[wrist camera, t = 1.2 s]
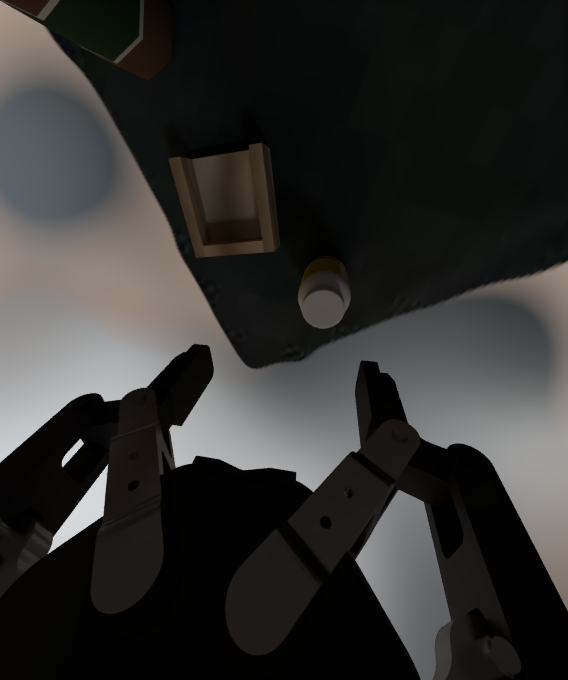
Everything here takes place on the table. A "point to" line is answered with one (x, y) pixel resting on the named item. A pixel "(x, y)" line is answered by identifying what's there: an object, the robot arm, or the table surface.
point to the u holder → (229, 202)
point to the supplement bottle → (324, 292)
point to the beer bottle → (111, 29)
